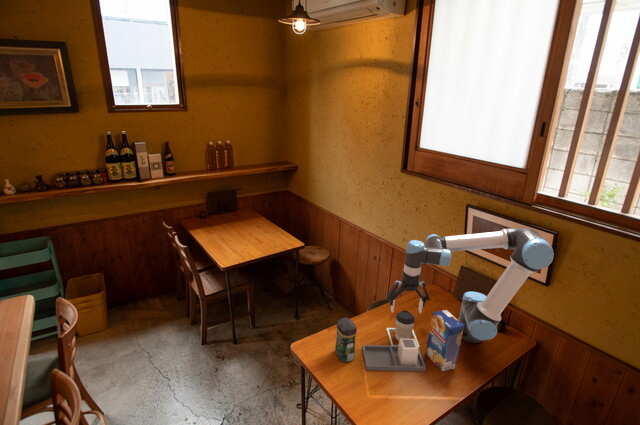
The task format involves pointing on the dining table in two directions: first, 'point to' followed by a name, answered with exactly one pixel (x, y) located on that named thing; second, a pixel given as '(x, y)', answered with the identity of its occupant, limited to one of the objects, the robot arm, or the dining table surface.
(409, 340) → the white box
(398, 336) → the coffee cup
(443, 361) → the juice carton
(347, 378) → the dining table surface
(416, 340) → the square frame
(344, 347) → the coffee jar
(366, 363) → the divided tray
